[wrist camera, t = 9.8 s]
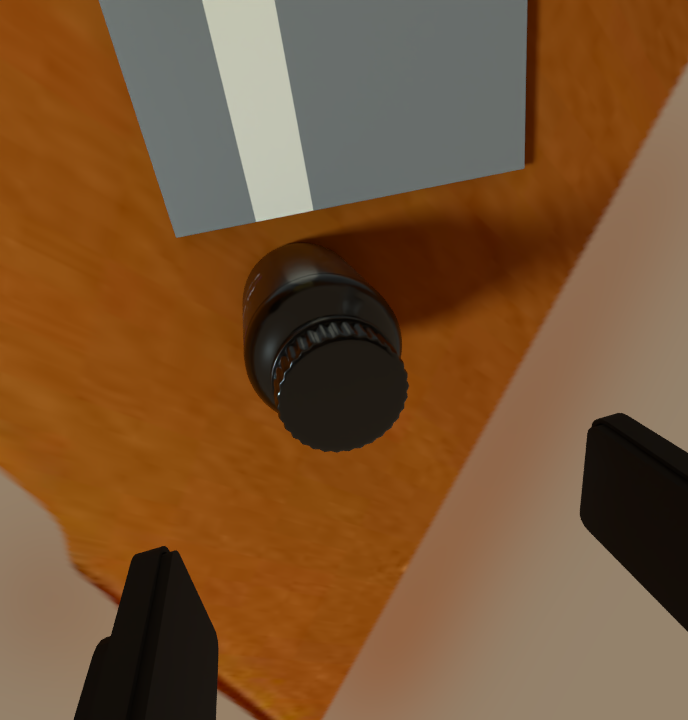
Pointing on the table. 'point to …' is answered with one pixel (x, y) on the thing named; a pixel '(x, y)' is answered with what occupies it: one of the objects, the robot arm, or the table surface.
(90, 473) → the table surface
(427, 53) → the board
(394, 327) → the supplement bottle
